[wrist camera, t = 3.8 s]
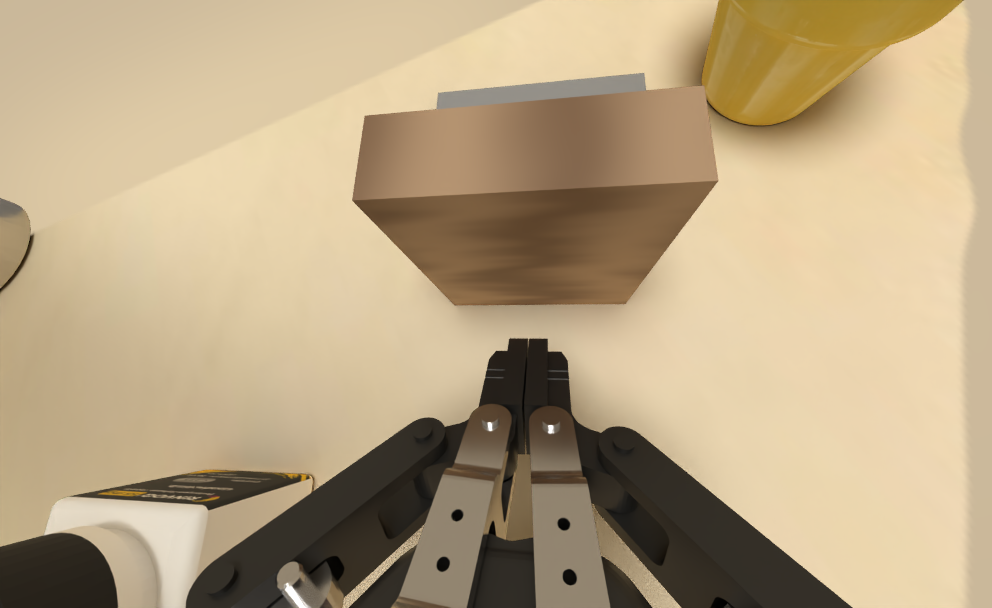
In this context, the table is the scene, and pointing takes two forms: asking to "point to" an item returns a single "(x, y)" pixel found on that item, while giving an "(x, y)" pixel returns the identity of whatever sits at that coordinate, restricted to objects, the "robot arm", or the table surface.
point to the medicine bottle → (142, 539)
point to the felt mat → (542, 91)
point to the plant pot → (800, 50)
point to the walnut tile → (539, 192)
